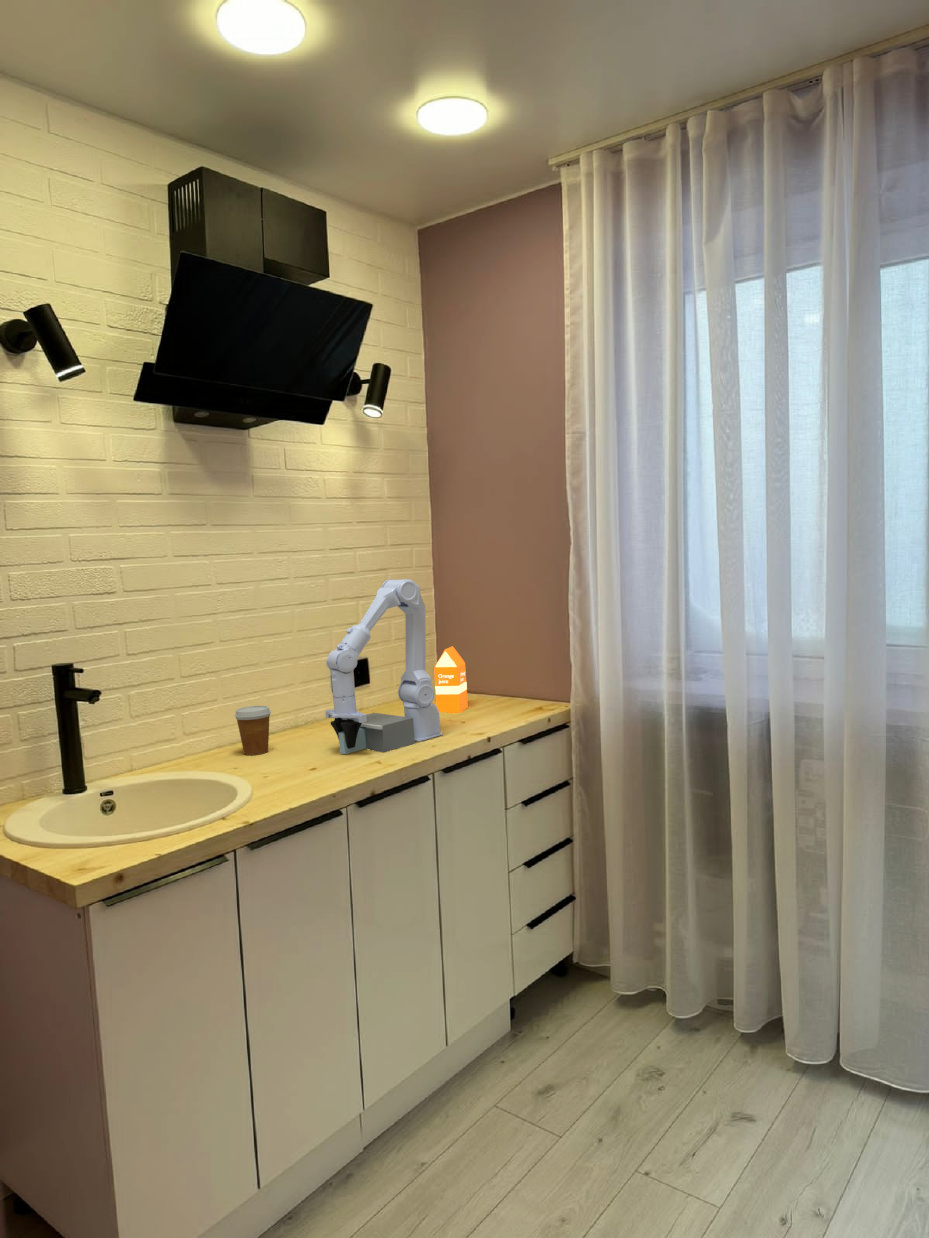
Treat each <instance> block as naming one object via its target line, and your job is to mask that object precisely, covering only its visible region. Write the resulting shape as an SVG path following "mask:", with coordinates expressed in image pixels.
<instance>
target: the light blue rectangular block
mask: <svg viewBox="0 0 929 1238" xmlns="http://www.w3.org/2000/svg"><path fill="white" fill-rule="evenodd" d="M338 744H339V754H340V755H341V754H342V755H348V754H350V753H354V752H359V751H362V750H364V749H366V750H367V742H366V728H365V727H360V728H359V731H358V734H357V738H356V744H355V747H354V748H350V749H348V748H347V745H346V739H345V734H344V731H342V732H339V739H338Z"/></svg>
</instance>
